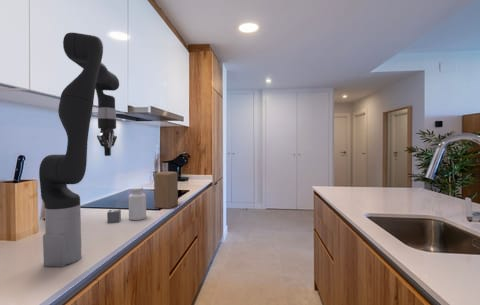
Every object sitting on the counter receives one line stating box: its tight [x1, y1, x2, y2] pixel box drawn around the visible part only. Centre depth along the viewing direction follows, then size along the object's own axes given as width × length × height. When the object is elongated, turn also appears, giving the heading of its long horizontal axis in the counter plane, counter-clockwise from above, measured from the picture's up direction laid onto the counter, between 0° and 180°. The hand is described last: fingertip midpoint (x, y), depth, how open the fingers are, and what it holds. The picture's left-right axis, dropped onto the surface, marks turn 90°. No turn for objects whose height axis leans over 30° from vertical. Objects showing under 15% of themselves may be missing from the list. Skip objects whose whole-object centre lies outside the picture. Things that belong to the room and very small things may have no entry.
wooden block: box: [153, 171, 179, 210], centre depth 151 cm, size 10×10×20 cm
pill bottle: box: [128, 186, 147, 221], centre depth 128 cm, size 8×8×15 cm
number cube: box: [106, 208, 122, 224], centre depth 123 cm, size 5×5×5 cm
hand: (107, 155), depth 121 cm, fingers closed
